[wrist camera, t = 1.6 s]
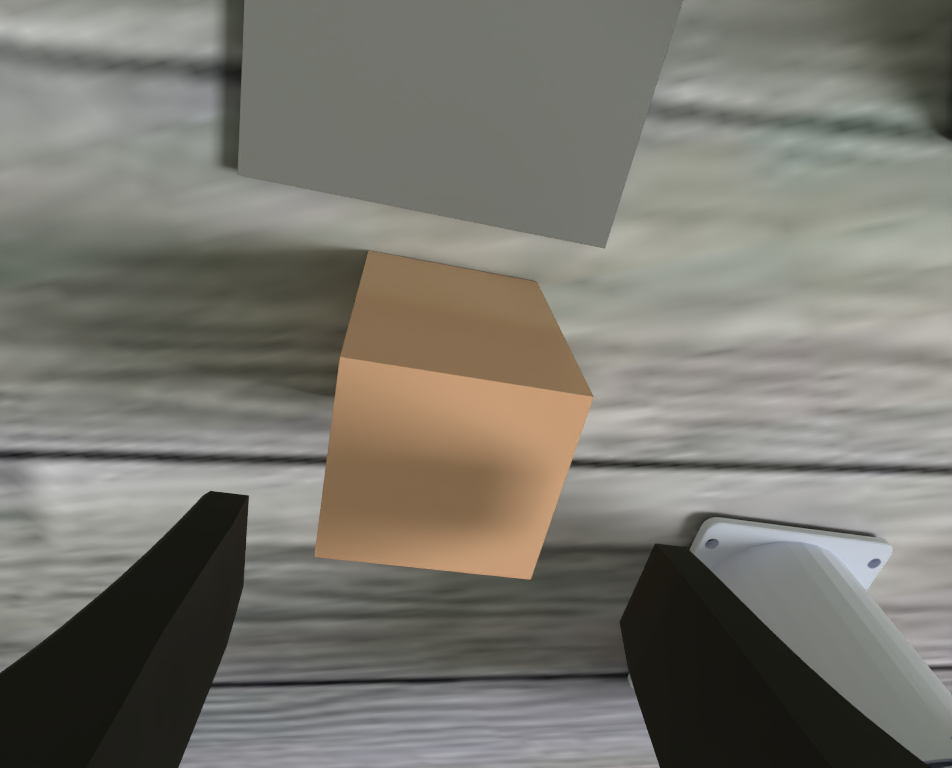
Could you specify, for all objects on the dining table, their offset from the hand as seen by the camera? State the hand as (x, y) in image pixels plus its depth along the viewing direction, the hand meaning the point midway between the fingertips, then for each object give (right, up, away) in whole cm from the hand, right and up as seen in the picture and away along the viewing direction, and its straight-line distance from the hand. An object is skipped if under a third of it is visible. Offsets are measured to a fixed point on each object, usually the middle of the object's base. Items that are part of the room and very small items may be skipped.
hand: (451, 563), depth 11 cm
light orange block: (-1, +4, +8) cm, 9 cm away
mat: (0, +12, +4) cm, 13 cm away
